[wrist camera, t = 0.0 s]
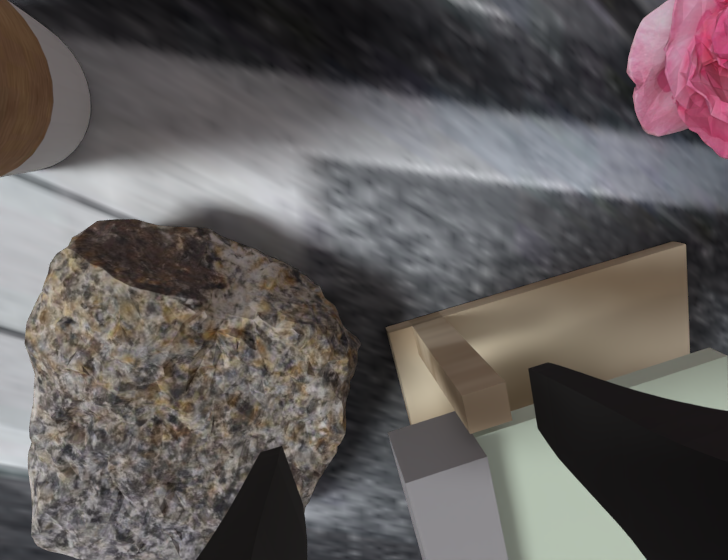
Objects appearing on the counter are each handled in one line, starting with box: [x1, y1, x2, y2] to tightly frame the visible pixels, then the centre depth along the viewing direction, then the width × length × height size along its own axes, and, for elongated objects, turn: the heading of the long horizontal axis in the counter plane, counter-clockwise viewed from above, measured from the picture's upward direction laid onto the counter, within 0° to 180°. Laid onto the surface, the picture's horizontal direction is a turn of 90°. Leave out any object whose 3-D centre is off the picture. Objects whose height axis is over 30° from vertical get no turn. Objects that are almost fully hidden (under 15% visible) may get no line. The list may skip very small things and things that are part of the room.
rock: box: [25, 219, 361, 560], centre depth 19 cm, size 13×6×15 cm
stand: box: [385, 241, 690, 434], centre depth 21 cm, size 14×16×8 cm
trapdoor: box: [388, 348, 728, 560], centre depth 19 cm, size 9×14×3 cm
